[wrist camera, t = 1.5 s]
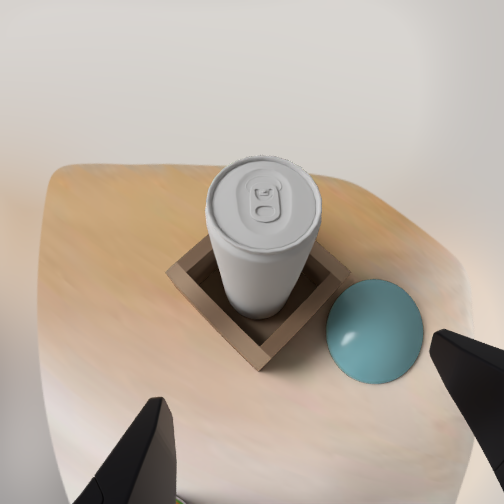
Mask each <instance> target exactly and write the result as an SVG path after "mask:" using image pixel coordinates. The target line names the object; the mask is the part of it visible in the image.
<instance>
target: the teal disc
mask: <svg viewBox="0 0 504 504" xmlns="http://www.w3.org/2000/svg"><path fill="white" fill-rule="evenodd" d="M326 340H327V345H328V349H329V352H330V354H331V356H332V358H333V360H334V362H335V363H336V364H337V366H338V367H339V368H340V369H341V370H342V371H343V372H344V373H345V374H346V375H348V376H349V377H351V378H353V379H354V380H357V381H359V382H363V383H369V384H380V383H386V382H390V381H392V380H395V379H397V378H398V377H400V376H401V375H403V374H404V373H405V372H406V371H407V370H408V369H410V367H411V366H412V365H413V364H414V362H415V360H416V359H417V357H418V354H419V352H420V349H421V346H422V341H423V324H422V319H421V315H420V312H419V310H418V308H417V306H416V304H415V302H414V301H413V300H412V298H411V297H410V296H409V295H408V294H407V293H406V292H405V291H404V290H403V289H402V288H400V287H399V286H397V285H395V284H393V283H391V282H388V281H384V280H376V279H372V280H365V281H361V282H358V283H356V284H354V285H352V286H350V287H349V288H348V289H346V290H345V291H344V292H343V293H342V294H341V295H340V296H339V297H338V298H337V300H336V301H335V302H334V304H333V306H332V308H331V310H330V312H329V315H328V319H327V324H326Z"/></svg>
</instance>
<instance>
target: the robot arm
mask: <svg viewBox="0 0 504 504" xmlns="http://www.w3.org/2000/svg"><path fill="white" fill-rule="evenodd" d="M429 353H430V357H431V359H432V361H433V363H434V365H435V367H436V369H437V371H438V373H439V375H440V377H441V379H442V381H443V383H444V385H445V387H446V389H447V390H448V392H449V394H450V395H451V397H452V399H453V400H454V402H455V403H456V405H457V407H458V408H459V410H460V412H461V413H462V415H463V417H464V418H465V420H466V422H467V424H468V425H469V427H470V429H471V430H472V432H473V434H474V436H475V437H476V439H477V441H478V443H479V445H480V446H481V448H482V450H483V452H484V454H485V456H486V458H487V459H488V461H489V463H490V465H491V467H492V469H493V471H494V473H495V475H496V477H497V479H498V481H499V483H500V485H501V487H502V489H503V491H504V350H502V349H499V348H496V347H493V346H490V345H487V344H485V343H482V342H479V341H477V340H474V339H471V338H468V337H466V336H463V335H460V334H457V333H455V332H452V331H449V330H446V329H441V330H439V331H436V332H435V333H434V334H433V337H432V342H431V346H430V350H429ZM176 470H177V460H176V449H175V438H174V426H173V417H172V413H171V411H170V409H169V407H168V405H167V403H166V401H165V399H164V398H163V397H153V398H150V399H149V400H148V401H147V403H146V404H145V406H144V407H143V408H142V410H141V411H140V413H139V414H138V415H137V417H136V418H135V420H134V421H133V422H132V424H131V425H130V427H129V428H128V429H127V431H126V432H125V434H124V435H123V436H122V438H121V439H120V440H119V442H118V443H117V445H116V446H115V447H114V449H113V450H112V452H111V453H110V454H109V456H108V457H107V459H106V460H105V461H104V463H103V464H102V466H101V467H100V468H99V470H98V471H97V473H96V474H95V477H93V478H92V479H91V481H90V482H89V484H88V485H87V486H86V488H85V489H84V490H83V491H82V493H81V494H80V495H79V497H78V498H77V499H76V500H75V501H74V502H73V503H72V504H176Z"/></svg>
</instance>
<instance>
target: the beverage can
mask: <svg viewBox="0 0 504 504" xmlns="http://www.w3.org/2000/svg"><path fill="white" fill-rule="evenodd" d="M321 213H322V198H321V195H320V192H319V189H318V186H317V185H316V183H315V182H314V180H313V179H312V177H311V176H310V175H309V174H308V173H307V172H306V171H304V170H303V169H302V168H301V167H300V166H298V165H296V164H294V163H293V162H291V161H289V160H286V159H282V158H279V157H275V156H264V155H260V156H251V157H246V158H243V159H240V160H237V161H235V162H233V163H231V164H230V165H228V166H226V167H225V168H224V169H223V170H222V171H221V172H220V173H219V174H218V175H217V176H216V177H215V178H214V180H213V182H212V183H211V185H210V187H209V190H208V194H207V199H206V209H205V214H206V223H207V229H208V232H209V236H210V240H211V244H212V247H213V251H214V254H215V257H216V260H217V264H218V267H219V270H220V274H221V278H222V281H223V285H224V289H225V292H226V296H227V298H228V300H229V302H230V304H231V305H232V306H233V308H234V309H235V310H236V311H237V312H238V313H240V314H241V315H242V316H245V317H248V318H250V319H264V318H268V317H271V316H273V315H275V314H276V313H277V312H279V311H280V310H281V309H282V308H283V306H284V305H285V303H286V302H287V300H288V298H289V295H290V293H291V291H292V289H293V287H294V286H295V284H296V282H297V280H298V278H299V276H300V274H301V271H302V269H303V267H304V265H305V263H306V260H307V258H308V256H309V253H310V251H311V249H312V246H313V244H314V242H315V239H316V237H317V234H318V231H319V228H320V224H321Z"/></svg>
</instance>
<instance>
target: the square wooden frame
mask: <svg viewBox="0 0 504 504" xmlns="http://www.w3.org/2000/svg"><path fill="white" fill-rule="evenodd" d="M217 268H218V264H217V260H216V257H215V254H214V251H213V247H212V244H211V240H210V236H209V234H208V235H207V236H206V237H205V238H203V239H202V240H201V241H200V242H199V243H198V244H196V245H195V246H194V247H193V248H192V249H191V250H190V251H188V252H187V253H186V254H185V255H184V256H183V257H182V258H180V259H179V260H178V261H177V262H176V263H175V264H174V265H172V266H171V267H170V268H169V269H168V270H167V271H166V272H165V273H166V274H167V276H168V277H169V278H170V280H171V281H172V282H173V284H174V285H175V287H176V288H177V289H178V290H179V291H180V292H181V293H182V294H183V296H184V297H185V298H186V299H187V300H188V301H189V302H190V303H191V304H192V305H193V306H194V307H195V308H196V310H197V311H198V312H199V313H200V314H201V315H202V316H203V317H204V318H205V319H206V320H207V321H208V322H209V323H210V324H211V325H212V326H213V327H214V328H215V329H216V330H217V332H218V333H219V334H220V335H221V336H222V337H223V338H224V339H225V340H226V341H227V342H228V343H229V344H230V345H231V346H232V347H233V348H234V349H235V350H236V351H237V352H238V353H239V354H240V355H241V356H242V357H243V358H244V359H245V360H246V361H247V362H249V363H250V364H251V365H252V366H253V367H254V368H255V369H256V370H257V371H259V370H260V369H261V368H262V367H263V366H264V365H265V364H266V363H267V362H268V361H270V360H271V359H272V358H273V357H274V356H275V355H276V354H277V353H278V351H279V350H280V349H281V348H282V347H283V346H284V345H285V344H286V343H287V342H288V341H289V340H290V339H291V338H292V337H293V336H294V335H295V334H296V333H297V332H298V331H299V330H300V329H301V328H302V327H303V326H304V325H305V324H306V322H307V321H308V320H309V319H310V318H311V317H312V316H313V315H314V314H315V313H316V312H317V311H318V310H319V308H320V307H321V306H322V305H323V304H324V303H325V302H326V301H327V300H328V299H329V297H330V296H331V295H332V294H333V293H334V292H335V291H336V290H337V288H338V287H339V286H340V285H341V284H342V283H343V282H344V280H345V279H346V278H347V277H348V276H349V275H350V273H351V271H349V270H348V269H347V268H346V267H345V266H344V265H343V264H342V263H340V262H339V261H338V260H337V259H336V258H335V257H334V256H333V255H331V254H330V253H329V252H328V251H327V250H326V249H325V248H323V247H322V246H321V245H320V244H319V243H318V242H316V241H315V242H314V244H313V246H312V249H311V251H310V253H309V256H308V258H307V260H306V263H305V265H304V267H303V269H302V271H301V272H302V273H304V274H305V275H306V276H307V277H308V278H309V279H310V280H311V281H312V282H313V283H315V284H316V285H317V286H318V287H317V288H316V289H315V290H314V292H313V293H312V294H311V295H310V296H309V297H308V298H307V299H306V300H305V301H304V302H303V303H302V304H301V305H300V306H299V307H298V308H297V309H296V310H295V312H294V313H293V314H292V315H291V316H290V317H289V318H288V319H287V320H286V321H285V322H284V323H283V324H282V325H281V326H280V327H279V328H278V329H277V330H276V331H275V332H274V333H273V334H272V335H271V336H270V337H269V338H268V339H267V340H266V341H265V342H264V343H263V344H262V345H261V346H260V347H259V346H258V345H257V344H256V343H255V342H254V341H253V340H252V339H251V338H250V337H249V336H248V335H247V334H246V333H245V332H244V331H243V330H242V329H241V328H240V327H239V326H238V325H237V324H236V323H235V322H234V321H233V320H232V319H231V318H230V317H229V316H228V315H227V314H226V313H225V312H224V311H223V310H222V309H221V308H220V307H219V306H218V305H217V304H216V303H215V302H214V301H213V300H212V299H211V298H210V297H209V296H208V295H207V294H206V293H205V292H204V291H203V290H202V289H201V288H200V287H199V286H198V285H199V284H200V283H201V282H202V281H204V280H205V279H206V278H207V277H208V276H209V275H210V274H211V273H212V272H214V271H215V270H216V269H217Z"/></svg>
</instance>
